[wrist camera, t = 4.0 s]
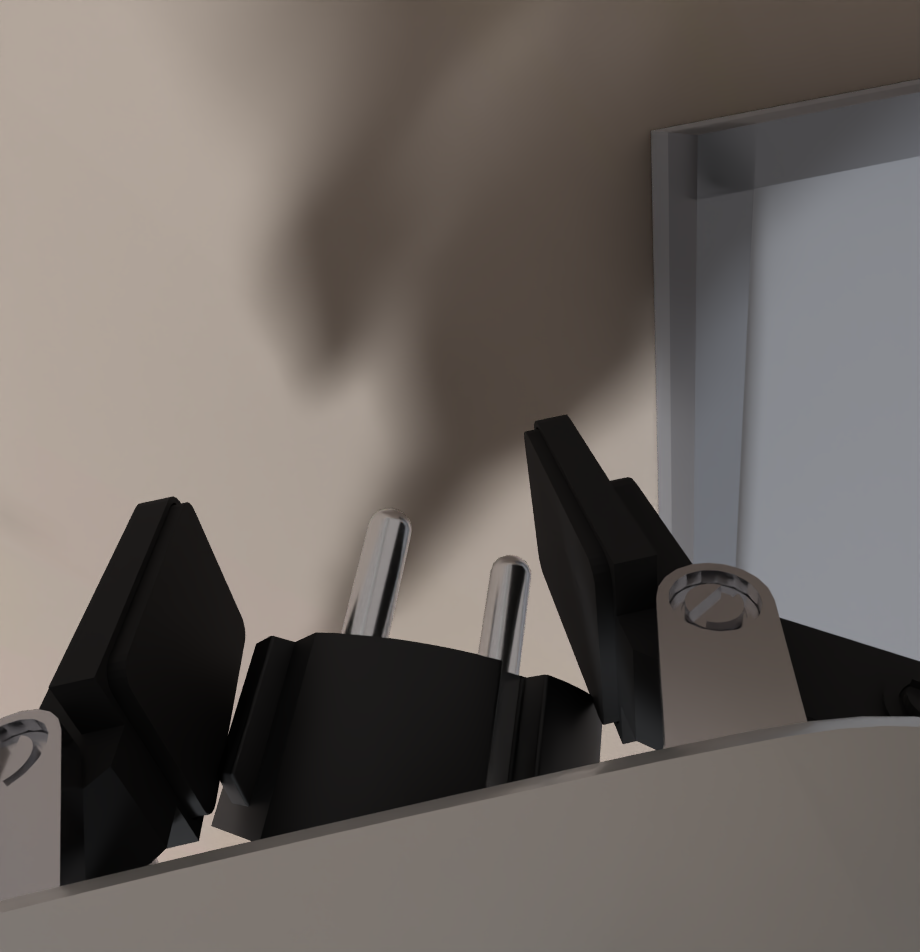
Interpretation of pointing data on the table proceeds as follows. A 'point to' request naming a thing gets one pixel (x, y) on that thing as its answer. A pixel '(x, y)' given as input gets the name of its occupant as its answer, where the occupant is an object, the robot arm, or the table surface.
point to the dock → (796, 354)
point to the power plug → (394, 709)
